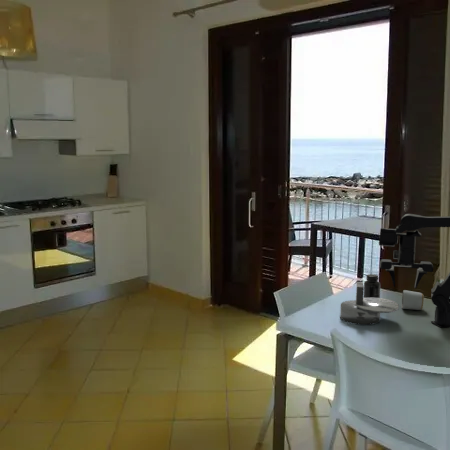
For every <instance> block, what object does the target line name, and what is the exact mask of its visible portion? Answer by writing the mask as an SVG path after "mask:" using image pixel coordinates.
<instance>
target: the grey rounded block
mask: <svg viewBox="0 0 450 450" xmlns="http://www.w3.org/2000/svg"><path fill="white" fill-rule="evenodd" d="M424 298H425V296H424V293H422V292H418V291H411V290H406V289H404V290H403V291H402V295H401V309H403V310H413V311H414V310H415V311H421V310H423V307H424V300H425V299H424Z"/></svg>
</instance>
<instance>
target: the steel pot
mask: <svg viewBox="0 0 450 450" xmlns="http://www.w3.org/2000/svg"><path fill="white" fill-rule="evenodd" d="M355 301H356V299H355V300H353V299H352V300H346V301H345V300H344V301H342V302H341V303H340V313H339V317H340V319H341V320H342V321H343V322H346V323H349V324H353V325H354V324H355V325H362V326H366V325H367V326H368V325H375V324H378V323H380V321H381V313H376V312H369V311H365V310H362V309H359V308H357V307H356V306H355Z"/></svg>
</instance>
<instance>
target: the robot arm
mask: <svg viewBox="0 0 450 450" xmlns="http://www.w3.org/2000/svg"><path fill="white" fill-rule="evenodd" d="M424 228H450V215H449V216H448V215H447V216H424V215H420V214H413V213H406V214H404V215H403V216H401V219H400V223H399V224H398V225H397V226H396V228H385V227H381V228H380V230H379V236H378V246H380V247H381V246H382V247H395V246H396V245H398V246H399V247H398V250H397V249H396V250H393V260H397V262H396V261H392V259H387V258H386V259H383V258H382V259H381V260H380V262H379V267H380V269H382V270H385V271H386V272H387V273H389V275H390V278H391V280H392V285H393V287H394V288H395V287H396V275H395V268H405V269H416V275H415V282H414V289H417V288H418V286H419V284H420V281H421V280H422V278H423V277H424V275H427V274H428V272H429V273H430V272H431V273H434V265H433V263H432V262H431V261H420V263H418V262H416V263H415V259H416V244H417V243H416V242H417V241H416V239H417V237H422V233H421V232H419V230H420V229H424ZM398 243H399V244H398ZM431 302H432V304H433V305H435V310H434V320H431V321H430V322H431V323H432V324H433V325H436V326H437V327H439V328H441V329H444V328H450V272H449V273H448V274H447V276H446V277H445V279H444V280H442V281H441V282H439V281H438V280H437V281H436V283H435V284H434V286H433V287H432V288H431Z"/></svg>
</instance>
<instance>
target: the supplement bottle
mask: <svg viewBox="0 0 450 450" xmlns="http://www.w3.org/2000/svg"><path fill="white" fill-rule="evenodd" d="M365 279H366V280H365V281H364V282H363V286H364V290H363V298H367V297H374V298H381V282H380V281H379V275H378V274H373V273H369V274H366V278H365Z"/></svg>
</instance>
